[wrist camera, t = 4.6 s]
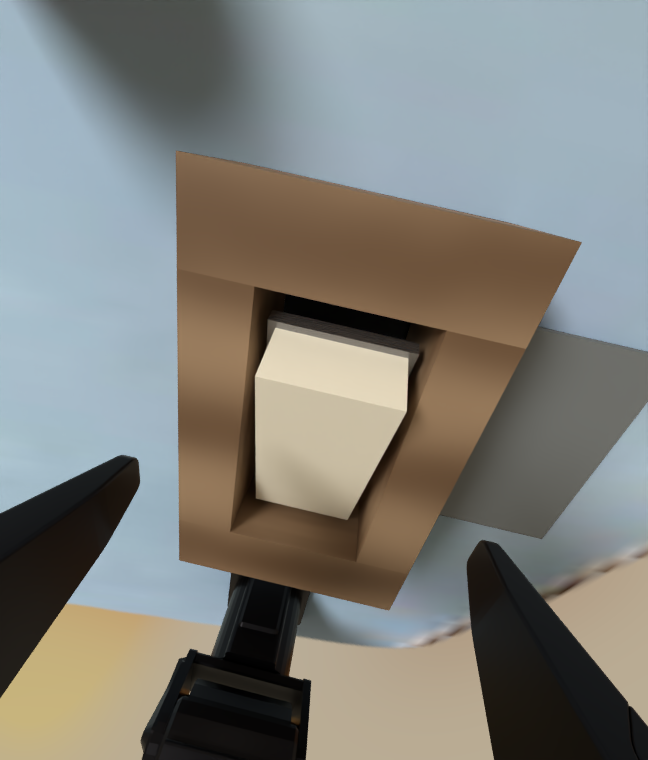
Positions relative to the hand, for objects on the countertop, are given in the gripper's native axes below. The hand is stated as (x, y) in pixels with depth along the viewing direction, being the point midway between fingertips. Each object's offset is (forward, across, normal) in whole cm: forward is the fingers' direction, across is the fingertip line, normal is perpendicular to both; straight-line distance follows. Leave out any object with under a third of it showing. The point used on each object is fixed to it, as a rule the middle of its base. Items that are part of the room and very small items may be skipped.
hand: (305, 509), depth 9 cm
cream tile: (+8, 0, +2) cm, 8 cm away
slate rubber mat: (+11, -12, +3) cm, 16 cm away
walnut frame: (+11, 0, +2) cm, 11 cm away
